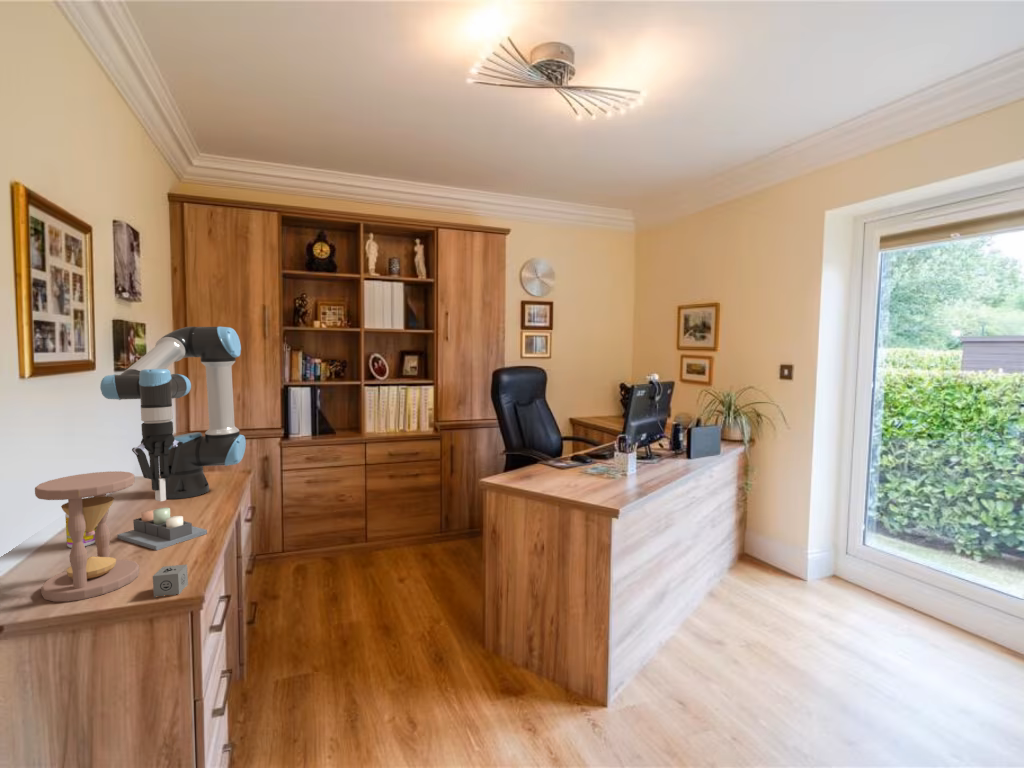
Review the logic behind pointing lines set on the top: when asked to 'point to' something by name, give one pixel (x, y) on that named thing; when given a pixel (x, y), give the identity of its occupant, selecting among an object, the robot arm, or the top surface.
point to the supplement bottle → (86, 539)
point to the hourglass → (85, 515)
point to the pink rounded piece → (147, 515)
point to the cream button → (174, 521)
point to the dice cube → (170, 580)
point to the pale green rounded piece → (161, 515)
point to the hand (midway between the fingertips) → (160, 500)
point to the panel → (160, 534)
